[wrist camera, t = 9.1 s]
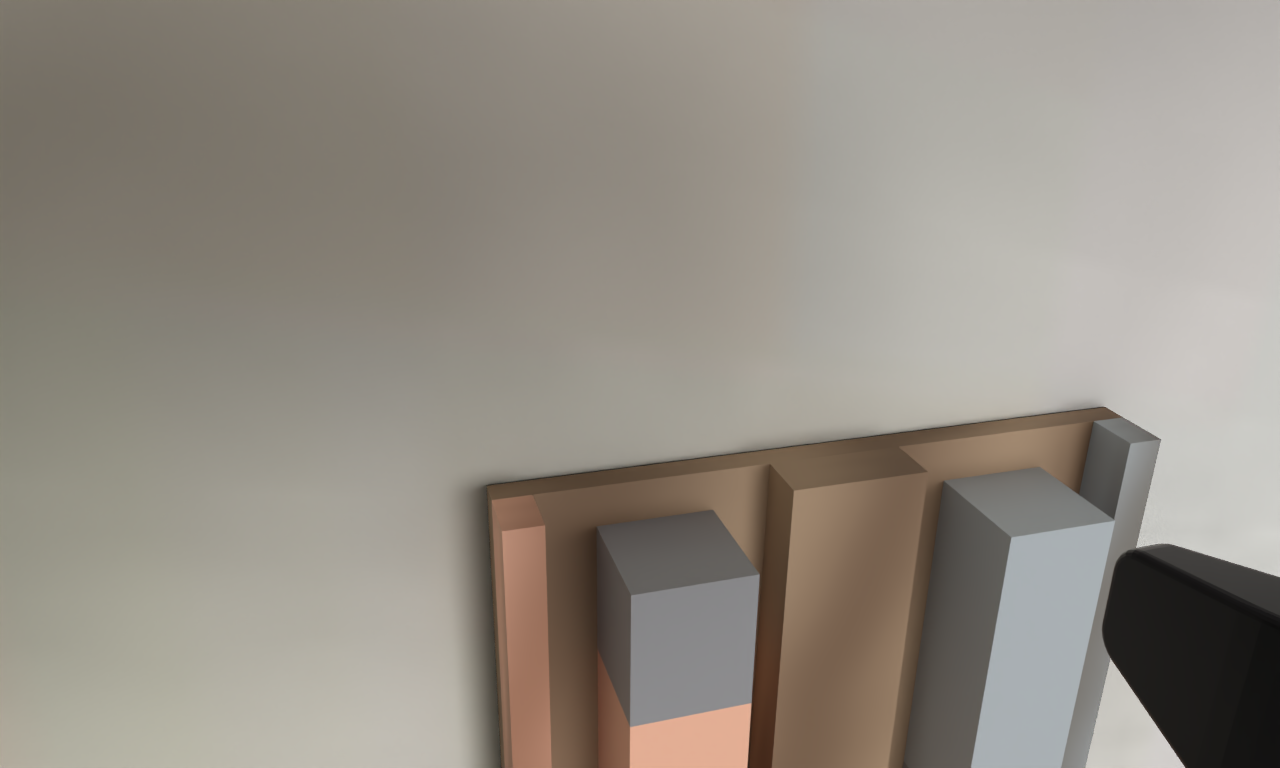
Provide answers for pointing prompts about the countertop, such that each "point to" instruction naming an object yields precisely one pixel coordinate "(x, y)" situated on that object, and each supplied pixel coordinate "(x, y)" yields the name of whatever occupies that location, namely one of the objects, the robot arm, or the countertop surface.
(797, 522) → the cord caddy
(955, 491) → the grey square bar
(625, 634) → the two-tone eraser
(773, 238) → the countertop surface
